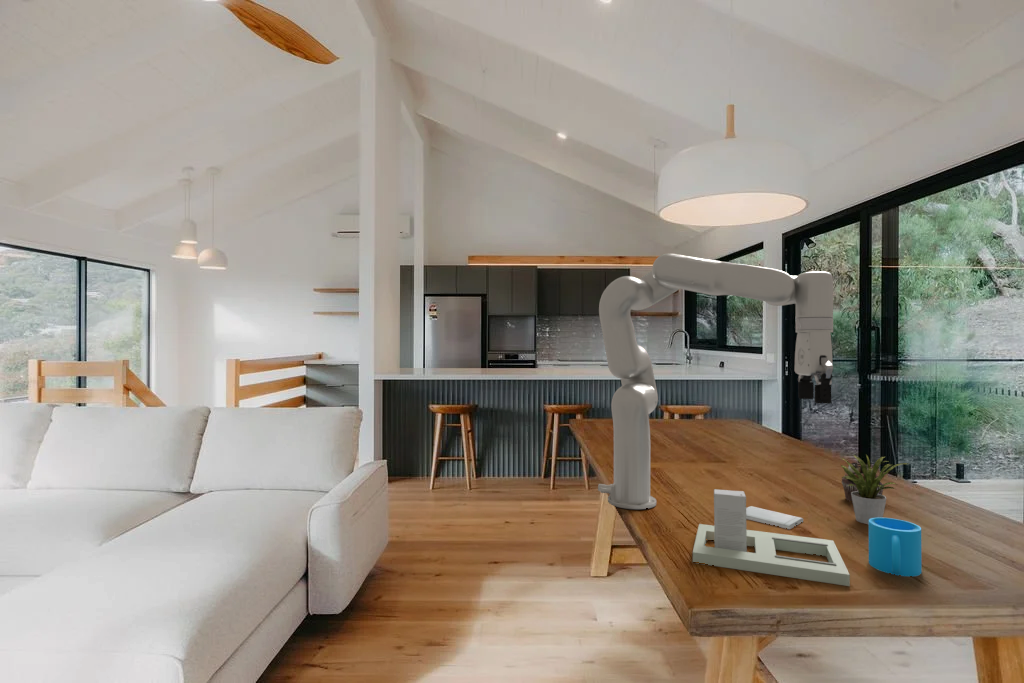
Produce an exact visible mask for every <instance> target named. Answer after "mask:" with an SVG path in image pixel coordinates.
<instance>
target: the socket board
mask: <svg viewBox="0 0 1024 683" xmlns="http://www.w3.org/2000/svg"><path fill="white" fill-rule="evenodd" d="M746 531H747V547H753V546H754V552H749V551H747V552H743V551H736V550H729V549H722V548H715V546H714V547H713V546H706V545H705V544H707V541H708V540H714V541H713V542H715V533H714V525H711V524H702V523H698V527H697V532H696V535H695V540H694V543H693V544H694V545H693V550H692V563H693V562H699V563H705V564H708V565H707V566H712V565H714V567H719V568H726V569H732V570H740V571H747V572H753V573H758V574H759V573H760V574H766V575H772V576H773V575H774V576H780V577H785V578H786V577H787V578H793V579H800V580H805V581H806V580H807V581H812V582H819V583H820V582H821V583H826V584H832V585H833V584H834V585H837V586H838V585H839V586H845V587H851V584H850V583H851V576H850V575H851V574H850V573H849V571H848V568H847V566H846V564H845V562H844V560H843V558H842V556H841V554H840V551H839V550H838V548H837V546H836V543H835V541H834V540H833V539H824V538H817V537H809V536H801V535H793V534H792V535H791V534H783V533H778V532H776V533H775V532H769V531H768V532H766V531H761V530H753V529H752V530H750V529H746ZM706 539H707V540H706ZM776 550H777V551H782V552H783V551H784V552H791V553H798V554H805V553H806V555H813V554H816V555H815V556H820V555H822V556H823V557H826V558H827V561H823V560H821V561H819V560H813V559H805V558H798V557H791V556H784V555H778V554H777V552H776ZM699 563H698V564H699ZM705 564H704V565H705Z"/></svg>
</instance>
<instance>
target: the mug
mask: <svg viewBox="0 0 1024 683" xmlns="http://www.w3.org/2000/svg"><path fill="white" fill-rule="evenodd" d="M922 561H923V560H922V527H921V526H920V525H918V524H916V523H913V522H911V521H907V520H902V519H899V518H898V519H897V518H892V517H883V518H881V517H878V518H871V519H869V524H868V564H869V565H870V567H872V568H874V569H876V570H877V571H879V572H884V573H886V574H889V573H891V575H894V574H895V575H894V576H899V575H901V576H900V577H910V576H912V577H918V576H920V574H921V575H922V566H923V564H922V563H923V562H922Z"/></svg>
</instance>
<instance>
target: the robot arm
mask: <svg viewBox="0 0 1024 683" xmlns="http://www.w3.org/2000/svg"><path fill="white" fill-rule="evenodd" d="M679 290H684V291H689V292H694V293H700V294H703V295H709V296H718V297H719V296H733V297H734V296H735V297H739V298H741V297H742V298H746V299H751V300H757V301H761V302H765V303H766V304H768V305H770V306H773V307H775V306H776V307H782V306H788V305H793V304H794V305H795V333H796V340H795V348H794V349H795V351H794V372H795V374H797V375H798V378H797V381H798V383H797V384H798V386H797V388H798V390H797V394H798V399H799V400H813V399H814V403H815V404H831V403H832V385H833V381H832V379H833V371H834V366H833V347H832V346H833V345H832V337H831V333H834V277H833V275H832V274H831V272H828V271H818V270H817V271H807V272H802V273H800V274H798V275H790V274H789V273H788V272H785V271H783V270H779V269H776V268H770V267H763V266H757V265H750V264H743V263H734V262H728V261H720V260H714V259H708V258H701V257H695V256H689V255H683V254H679V253H664V254H660V255H659V256H658V257H657V258H656V259H655V260H654V262H653V264H652V268H651V271H650V272H648V273H646V274H645V275H643V276H641V277H639V278H638V277H635V276H631V275H624V276H620V277H618V278H616V279H614V280H613V281H611V282H610V283H609V284H608V285H607V286H606V288H604V290H603V292H602V294H601V297H600V299H599V305H598V306H599V307H598V315H599V322H600V326H601V331H602V332H601V333H602V336H603V337H602V338H603V343H604V349H605V354H606V355H605V356H606V361H607V366H608V370H609V372H610V373H611V375H613V376H614V377H615V378H617V379H620V381H621V382H620V383H621V386H620V387H618V388H617V390H615V392H614V394H613V396H612V397H611V398H612V399H611V406H610V407H611V408H610V409H611V417H612V426H613V483H610V484H605V483H598V486H597V491H598V492H600V493H601V494H608V495H609V496H607V503H608V504H610V505H611V506H614V507H616V508H619V509H625V510H646V508H648V509H652V508H654V507H656V506H657V499H656V498H655V497H653V496H652V495H651V427H650V417H649V415H650V414H651V413H652V412H654V411H655V409H656V408H657V407H658V406H657V405H658V402H659V394H658V390H657V383H656V378H655V374H654V370H653V364H652V360H651V357H650V355H649V353H648V351H647V350H646V349H645V348H644V347H643V346H641V345H639V344H638V342H637V337H636V331H635V326H634V323H633V320H632V316H631V311H632V310H633V311H643V310H646V309H648V308H650V307H651V306H653V305H655V304H657V303H659V302H661V301H662V300H664V299H666V298H667V297H670V296H671V295H673V294H674V293H675V292H676V293H677V291H679ZM813 378H814V381H815V382H816V384H814V381H813Z"/></svg>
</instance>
